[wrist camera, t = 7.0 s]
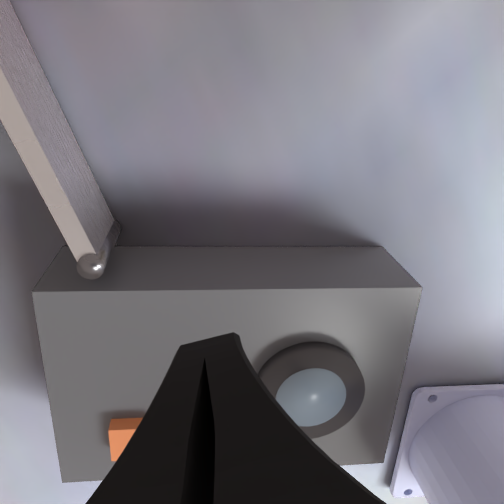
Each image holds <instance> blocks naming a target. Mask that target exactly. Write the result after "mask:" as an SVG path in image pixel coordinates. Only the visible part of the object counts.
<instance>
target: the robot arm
mask: <svg viewBox="0 0 504 504" xmlns="http://www.w3.org/2000/svg"><path fill="white" fill-rule="evenodd" d="M431 395H433V396H431ZM430 396H431V397H430ZM390 492H391V494H392V496H393V497H395V498H408V497H422V496H425V498H426V500H427V502H428V503H429V504H504V384H489V385H464V386H439V387H421V388H418V389H416V390H415V391H414V392H413V394H412V397H411V401H410V405H409V409H408V413H407V418H406V422H405V426H404V430H403V435H402V439H401V443H400V447H399V451H398V456H397V460H396V464H395V468H394V472H393V477H392V481H391V485H390ZM86 504H386V503H385V502H384V501H382V500H381V499H379V498H378V497H377V496H375V495H374V494H373V493H372V492H370V491H369V490H368V489H367V488H366V487H364V486H363V485H362V484H361V483H360V482H358V481H357V480H356V479H355V478H354V477H352V476H351V475H350V474H349V473H348V472H346V471H345V470H344V469H343V468H342V467H340V466H339V465H338V464H337V463H336V462H334V461H333V460H332V459H331V458H330V457H329V456H328V455H327V454H326V453H325V452H324V451H323V450H322V449H321V448H319V447H318V446H317V445H316V444H315V443H314V442H313V441H312V440H311V439H310V438H309V437H308V436H307V435H306V434H305V433H304V432H303V430H302V429H301V428H300V427H299V426H298V425H297V424H296V423H295V422H294V421H293V420H292V418H291V417H290V416H289V415H288V414H287V413H286V412H285V410H284V409H283V408H282V407H281V405H280V404H279V403H278V402H277V401H276V399H275V398H274V397H273V395H272V394H271V393H270V391H269V390H268V389H267V387H266V386H265V384H264V383H263V382H262V380H261V379H260V377H259V376H258V374H257V373H256V371H255V370H254V368H253V366H252V365H251V363H250V361H249V359H248V358H247V356H246V354H245V352H244V349H243V347H242V343H241V339H240V336H239V335H238V334H236V333H234V332H232V333H228V334H224V335H220V336H216V337H212V338H208V339H204V340H200V341H196V342H192V343H188V344H184V345H180V347H179V348H178V350H177V352H176V354H175V356H174V358H173V360H172V363H171V365H170V367H169V369H168V371H167V373H166V375H165V377H164V379H163V381H162V383H161V385H160V387H159V389H158V391H157V393H156V395H155V397H154V398H153V400H152V402H151V404H150V406H149V408H148V410H147V412H146V413H145V415H144V417H143V419H142V420H141V422H140V424H139V425H138V427H137V429H136V430H135V432H134V434H133V435H132V437H131V439H130V440H129V442H128V443H127V445H126V447H125V448H124V450H123V452H122V453H121V455H120V456H119V458H118V459H117V461H116V462H115V464H114V465H113V467H112V468H111V470H110V471H109V472H108V474H107V475H106V477H105V478H104V480H103V481H102V482H101V484H100V485H99V486H98V488H97V489H96V491H95V492H94V493H93V495H92V496H91V497H90V499H89V500H88V501H87V503H86Z"/></svg>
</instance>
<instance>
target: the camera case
mask: <svg viewBox="0 0 504 504" xmlns="http://www.w3.org/2000/svg"><path fill="white" fill-rule="evenodd" d="M76 265H77V261H76V259H75V257H74V255H73V253H72V252H71V250H70V248H69V246H63V247H62V248H61V250H60V251H59V253H58V254H57V256H56V257H55V258H54V260H53V261H52V263H51V264H50V266H49V267H48V269H47V270H46V272H45V273H44V274H43V276H42V277H41V279H40V280H39V282H38V283H37V285H36V286H35V288H34V289H33V290H32V298H33V304H34V311H35V317H36V323H37V329H38V335H39V342H40V348H41V354H42V360H43V366H44V372H45V379H46V385H47V391H48V397H49V403H50V410H51V416H52V422H53V428H54V434H55V440H56V447H57V453H58V459H59V465H60V471H61V478H62V483H66V482H82V481H98V480H104V478H105V477H106V475H107V474H108V472H109V471H110V470H111V468H112V467H113V465H114V464H115V462H116V461H117V459H118V458H119V456H120V455H121V453H122V452H123V450H124V448H125V447H126V445H127V443H128V442H129V440H130V439H131V437H132V435H133V434H134V432H135V430H136V429H137V427H138V425H139V424H140V422H141V420H142V419H143V417H144V415H145V413H146V412H147V410H148V408H149V406H150V404H151V402H152V400H153V398H154V397H155V395H156V393H157V391H158V389H159V387H160V385H161V383H162V381H163V379H164V377H165V375H166V373H167V371H168V369H169V367H170V365H171V363H172V360H173V358H174V356H175V354H176V352H177V350H178V348H179V347H180V345H184V344H188V343H192V342H196V341H200V340H204V339H208V338H212V337H216V336H220V335H224V334H228V333H232V332H234V333H236V334H238V335H239V336H240V339H241V343H242V347H243V349H244V352H245V354H246V356H247V358H248V359H249V361H250V363H251V365H252V366H253V368H254V370H255V371H256V373H257V374H258V376H259V377H260V379H261V380H262V382H263V383H264V384H265V386H266V387H267V389H268V390H269V391H270V393H271V394H272V395H273V397H274V398H275V399H276V401H277V402H278V403H279V404H280V405H281V407H282V408H283V409H284V410H285V412H286V413H287V414H288V415H289V416H290V417H291V418H292V420H293V421H294V422H295V423H296V424H297V425H298V426H299V427H300V428H301V429H302V430H303V432H304V433H305V434H306V435H307V436H308V437H309V438H310V439H311V440H312V441H313V442H314V443H315V444H316V445H317V446H318V447H319V448H321V449H322V450H323V451H324V452H325V453H326V454H327V455H328V456H329V457H330V458H331V459H332V460H333V461H334V462H336V463H337V464H338V465H356V464H372V463H383V462H384V458H385V453H386V449H387V445H388V440H389V436H390V431H391V427H392V422H393V418H394V413H395V409H396V404H397V400H398V395H399V391H400V386H401V382H402V377H403V373H404V368H405V364H406V359H407V355H408V350H409V346H410V341H411V337H412V332H413V328H414V323H415V319H416V314H417V310H418V305H419V301H420V296H421V292H422V287H421V286H420V284H419V283H418V282H417V281H416V280H415V279H414V278H413V277H412V276H411V275H410V274H409V273H408V272H407V271H406V270H405V269H404V268H403V267H402V266H401V265H400V264H399V263H398V262H397V261H396V260H395V259H394V258H393V257H392V256H391V255H390V254H389V253H388V252H387V251H386V250H385V249H384V248H383V247H259V246H114V248H113V251H112V253H111V256H110V258H109V260H108V263H107V265H106V267H105V270H104V272H103V274H102V275H101V276H100V277H99V278H97V279H92V280H91V279H86V278H84V277H82V276H81V275H80V274H79V273H78V271H77V268H76Z"/></svg>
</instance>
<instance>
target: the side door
mask: <svg viewBox="0 0 504 504" xmlns="http://www.w3.org/2000/svg"><path fill="white" fill-rule="evenodd" d="M0 120H1V122H2V124H3V125H4V127H5V129H6V131H7V133H8V135H9V136H10V138H11V140H12V142H13V144H14V146H15V148H16V149H17V151H18V153H19V155H20V157H21V159H22V161H23V162H24V164H25V166H26V168H27V170H28V172H29V174H30V175H31V177H32V179H33V181H34V183H35V185H36V187H37V188H38V190H39V192H40V194H41V196H42V198H43V200H44V201H45V203H46V205H47V207H48V209H49V211H50V213H51V214H52V216H53V218H54V220H55V222H56V224H57V226H58V227H59V229H60V231H61V233H62V235H63V237H64V239H65V240H66V242H67V244H68V246H69V248H70V250H71V252H72V253H73V255H74V257H75V259H76V261H77V265H76V268H77V271H78V273H79V274H80V275H81V276H82V277H84V278H86V279H91V280H92V279H97V278H99V277H100V276H101V275H102V274H103V272H104V270H105V267H106V265H107V263H108V260H109V258H110V256H111V253H112V251H113V248H114V246H115V244H116V241H117V239H118V236H119V234H120V232H121V226H120V224H119V222H118V221H117V220H115V219H114V218H113V216H112V214H111V212H110V210H109V208H108V206H107V204H106V202H105V199H104V197H103V195H102V193H101V191H100V189H99V187H98V185H97V183H96V181H95V179H94V176H93V174H92V172H91V170H90V168H89V166H88V164H87V162H86V160H85V158H84V155H83V153H82V151H81V149H80V147H79V145H78V143H77V141H76V139H75V137H74V135H73V132H72V130H71V128H70V126H69V124H68V122H67V120H66V118H65V116H64V114H63V112H62V109H61V107H60V105H59V103H58V101H57V99H56V97H55V95H54V93H53V91H52V88H51V86H50V84H49V82H48V80H47V78H46V76H45V74H44V72H43V70H42V68H41V65H40V63H39V61H38V59H37V57H36V55H35V53H34V51H33V49H32V47H31V45H30V42H29V40H28V38H27V36H26V34H25V32H24V30H23V28H22V26H21V24H20V21H19V19H18V17H17V15H16V13H15V11H14V9H13V7H12V5H11V3H10V1H9V0H0Z"/></svg>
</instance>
